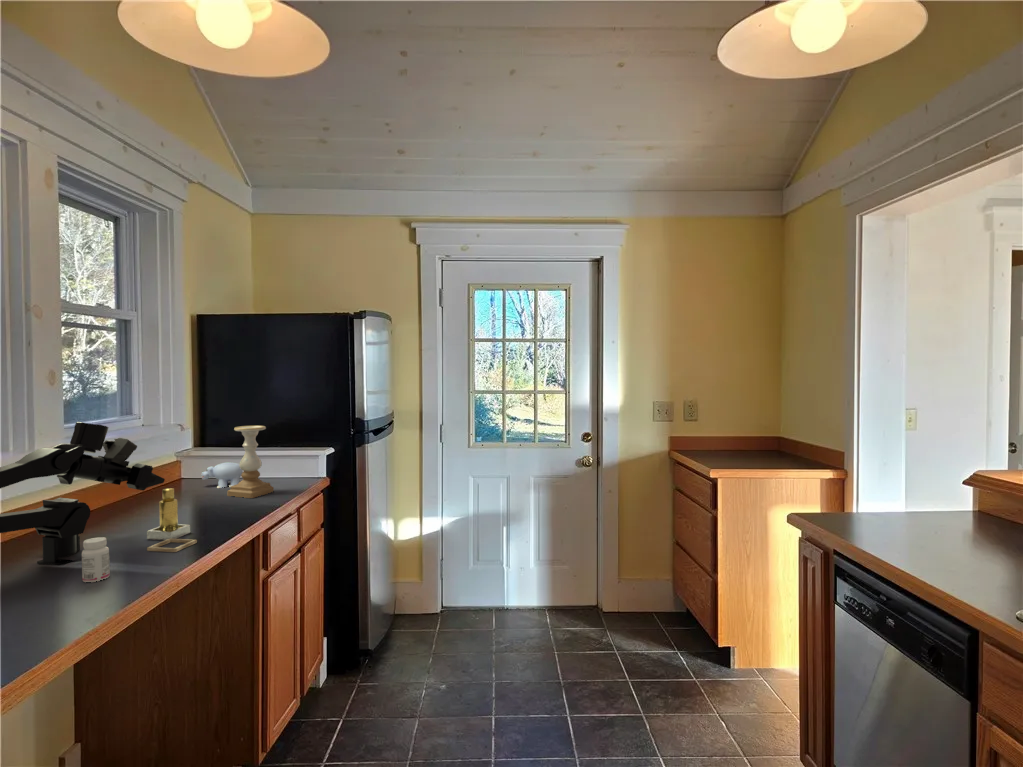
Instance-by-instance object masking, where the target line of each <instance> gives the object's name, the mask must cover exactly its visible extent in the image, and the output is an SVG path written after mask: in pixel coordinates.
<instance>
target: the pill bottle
mask: <svg viewBox="0 0 1023 767" xmlns="http://www.w3.org/2000/svg"><path fill="white" fill-rule="evenodd" d="M107 540H108V539H107V537H103V536H102V537H101V536H100V537H97V536H96V537H92V538H87V539H85V540H83V542H82V545H83V550H82V551H81V578H82V582H84V583H86V582H91V583H95V582H96V581H97V582H101V581H100V580H102V581H104V580H103V579H105V580H106V578H107V579H109V577H110V576H111V574H110V570H111V568H110V567H111V566H110V549H109V547H108V546H107V544H108V542H107ZM97 582H96V583H97Z"/></svg>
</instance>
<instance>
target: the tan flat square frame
mask: <svg viewBox="0 0 1023 767" xmlns="http://www.w3.org/2000/svg"><path fill="white" fill-rule="evenodd" d="M197 542H198V539H190V538H176V539H172V538H170V539H167V540H161V541H160V542H158V543H155V544H152V545H150V546H148V547H146V551H147V552H164V553H165V552H167V553H177V552H179V551H181V550H184V549H186V548H188V547H190V546H193V545H195V544H197ZM169 543H178V544H179V543H180V544H181V545H179V546H176V547H163V546H165V545H167V544H169Z"/></svg>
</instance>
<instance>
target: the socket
mask: <svg viewBox="0 0 1023 767" xmlns="http://www.w3.org/2000/svg"><path fill="white" fill-rule="evenodd" d="M191 532H192V531H191V525H190V524H184V523H183V524H181V523H180V524H179V523H178V529H175V530H173V531H160V525H159V526H157V527H154V528H151V529H149V530H146V540H159V541H165V540H167V539H170V538H172V539H179V538H181V537H183V536H185V535H189V534H190V533H191Z"/></svg>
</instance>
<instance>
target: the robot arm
mask: <svg viewBox="0 0 1023 767" xmlns="http://www.w3.org/2000/svg"><path fill="white" fill-rule="evenodd" d="M73 429H74V430H73V434H72V436H71V440H70V442H69V443H60V444H57V445H53V447H42V448H38V449H36V450H34V451H32V452H30V453H27V454H26V455H24V456H23V457H22V458H20V459H19V460H17V461H15V462H13V463H9V464H7V465H3V466H1V467H0V489H3V488H7V487H9V486H11V485H15V484H17V483H18V484H19V483H20V482H24V481H27V480H30V479H35V478H45V477H51V476H52V477H53V476H56V478H58V481H59V483H60V484H62V485H72V484H73V482H74V479H75V478H76V479H80V480H81V479H83V480H87V481H88V480H89V481H94V482H99V483H108V484H113V485H117V486H118V485H119V486H120V485H121V483H122V482H126V483H125V485H126V486H127V488H128V489H132V490H133V489H134V490H137V491H143V492H144V491H145V490H147V489H148V488H150V487H155V486H157V485H160V484H161V485H162V484H164V483H165V478H163V477H161V475H160V476H159V475H158V474H156V473H153V470H154V468H153V467H154V466H153V465H148V464H143V463H137V462H136V463H135V464H133V465H132V466H131V467H130V466H129V464H130V461H129V460H128V459H129V458H130V457H131V455H133V453H134V451H136V450H137V448H138V445H136V444H135V442H132V441H131V440H129V439H128V438H123V437H118V438H114V440H107V439H106V437H107V434H108V431H109V427H108V426H107V425H103V424H93V423H88V422H83V421H82V422H81V421H76V422H75V424H74V428H73ZM102 448H103V449H104V452H105V454H104V456H102V455H97V456H95V455H91V454H96V451H98V452H100V451H101V450H102ZM84 453H90V454H84ZM127 460H128V461H127ZM90 516H91V508H90V506H89V505H88V504H87V503H86V502H83V501H79V499H75V498H65V497H58V498H55V499H42V506H40V507H38V508H35V509H34V508H33V509H28V510H20V511H11V512H5V513H4V512H3V513H0V534H5V533H9V532H10V533H11V532H18V531H22V530H29V529H35V530H36V533H37V535H38V536H39V535H40V536H41V535H43V537H42V559H40V560H38V561H36V563H37V565H55V566H56V565H57V566H61V565H65V564H67V563H71V562H73V561H74V559H66V557H70V556H72V555H75V554H77V552H79V551H81V538H80V537H81V536H80V535H81V534H84V531H85V528H86V525H87V523H88V521H89V518H90ZM62 558H63V559H62Z"/></svg>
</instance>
